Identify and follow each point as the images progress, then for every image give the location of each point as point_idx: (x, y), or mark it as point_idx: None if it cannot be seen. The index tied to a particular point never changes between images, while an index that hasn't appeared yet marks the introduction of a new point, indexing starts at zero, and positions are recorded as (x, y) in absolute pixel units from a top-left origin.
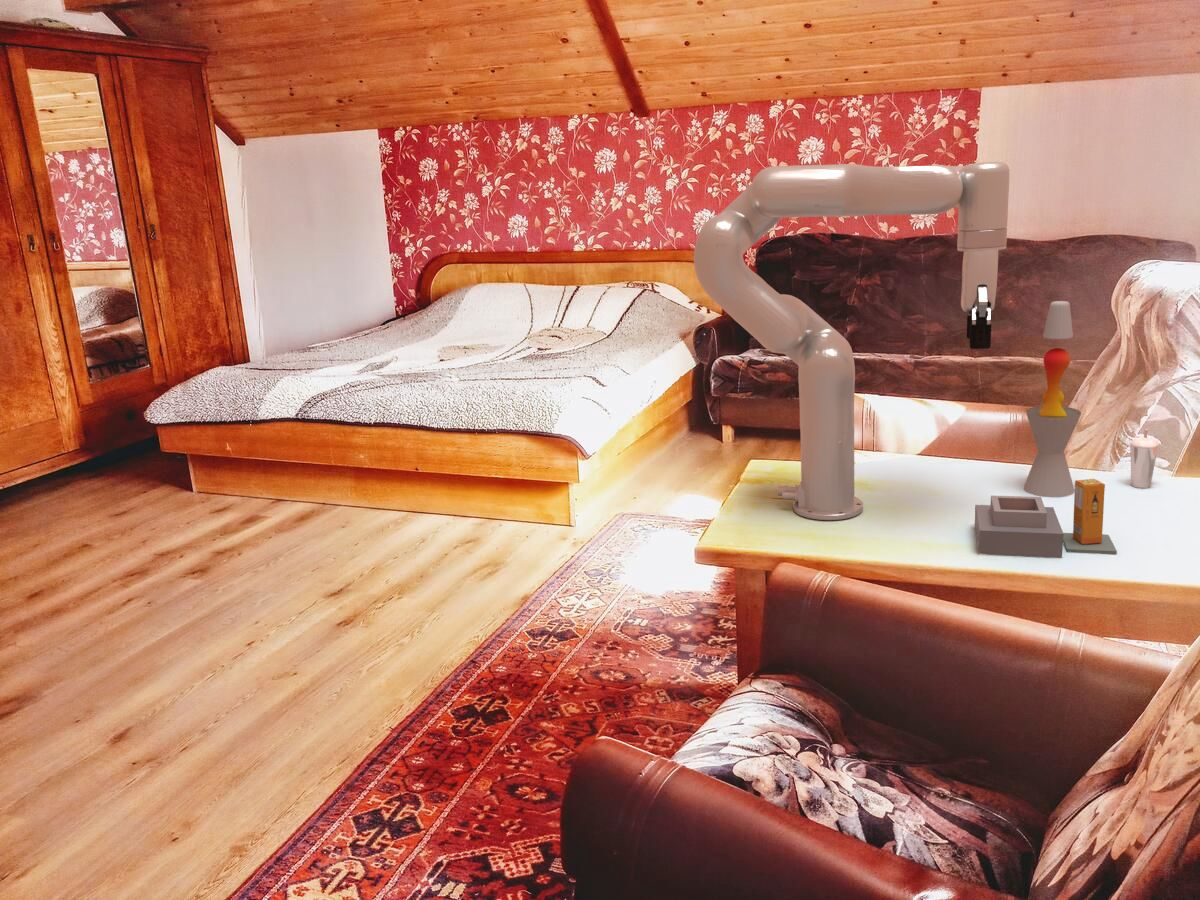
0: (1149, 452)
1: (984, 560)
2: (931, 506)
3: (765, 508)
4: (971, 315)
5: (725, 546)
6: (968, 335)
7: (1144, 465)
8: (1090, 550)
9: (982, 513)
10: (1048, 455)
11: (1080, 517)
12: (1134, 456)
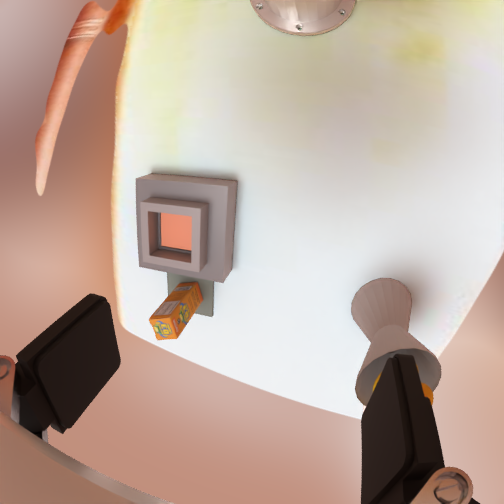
0: None
1: (136, 177)
2: (322, 134)
3: None
4: (414, 477)
5: None
6: (390, 366)
7: (364, 408)
8: (168, 286)
9: (192, 190)
10: (374, 331)
11: (171, 296)
12: None
